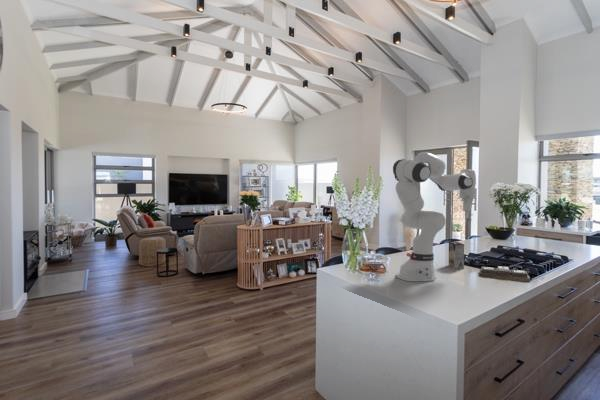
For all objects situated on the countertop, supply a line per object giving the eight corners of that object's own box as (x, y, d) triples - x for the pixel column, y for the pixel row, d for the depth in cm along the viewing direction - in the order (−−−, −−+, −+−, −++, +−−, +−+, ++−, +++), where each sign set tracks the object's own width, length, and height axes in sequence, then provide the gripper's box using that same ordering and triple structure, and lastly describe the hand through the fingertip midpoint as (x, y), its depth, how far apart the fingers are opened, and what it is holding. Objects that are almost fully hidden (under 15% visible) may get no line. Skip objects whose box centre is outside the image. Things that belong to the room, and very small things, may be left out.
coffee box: (448, 265, 206) (448, 241, 206) (457, 265, 206) (457, 241, 206) (454, 268, 197) (454, 244, 197) (464, 268, 197) (464, 244, 197)
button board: (530, 282, 167) (530, 274, 167) (479, 276, 180) (479, 269, 180) (527, 277, 176) (527, 270, 176) (479, 272, 188) (479, 265, 188)
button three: (493, 272, 178) (493, 269, 178) (483, 271, 181) (483, 268, 181) (493, 270, 182) (493, 267, 182) (483, 269, 185) (483, 266, 185)
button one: (508, 272, 174) (508, 268, 174) (498, 271, 177) (498, 267, 177) (508, 270, 179) (508, 266, 179) (498, 269, 181) (498, 265, 181)
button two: (525, 276, 171) (525, 272, 170) (514, 274, 173) (514, 271, 173) (523, 273, 175) (524, 270, 175) (513, 272, 177) (513, 269, 177)
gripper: (472, 195, 177) (472, 219, 177) (473, 195, 194) (473, 217, 195) (460, 195, 180) (460, 218, 180) (462, 195, 198) (462, 216, 198)
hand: (467, 218), depth 188 cm, fingers closed
